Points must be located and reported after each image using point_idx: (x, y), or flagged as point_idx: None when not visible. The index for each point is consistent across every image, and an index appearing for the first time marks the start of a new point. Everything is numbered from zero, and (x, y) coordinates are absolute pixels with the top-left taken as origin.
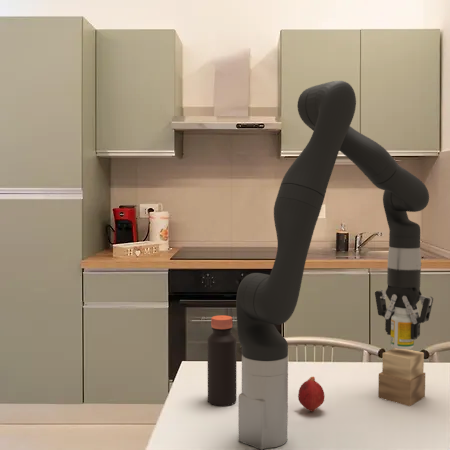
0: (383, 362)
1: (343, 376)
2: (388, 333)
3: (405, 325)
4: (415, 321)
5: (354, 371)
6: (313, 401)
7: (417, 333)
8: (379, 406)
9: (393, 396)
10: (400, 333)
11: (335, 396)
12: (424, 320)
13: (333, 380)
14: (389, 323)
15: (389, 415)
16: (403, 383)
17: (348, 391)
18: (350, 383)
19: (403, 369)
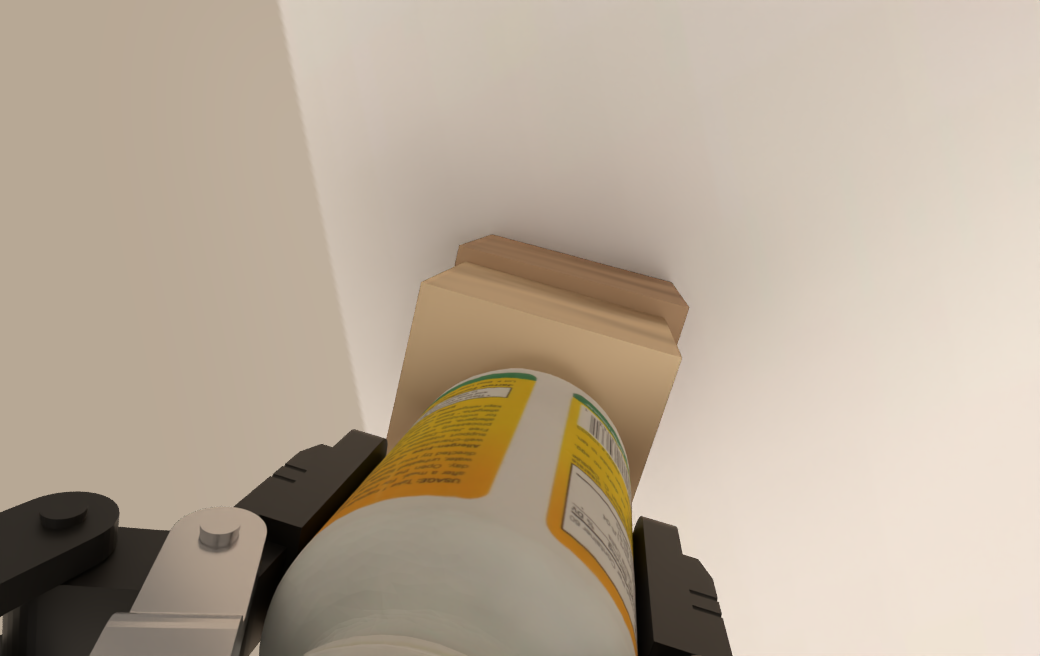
0: (665, 335)
1: (938, 536)
2: (660, 525)
3: (382, 480)
4: (202, 532)
5: (887, 640)
6: None
7: (286, 467)
8: (638, 149)
9: (582, 262)
10: (481, 423)
11: (922, 180)
12: (22, 507)
13: (989, 446)
14: (658, 604)
15: (561, 42)
16: (511, 256)
17: (858, 301)
18: (872, 437)
19: (500, 283)
